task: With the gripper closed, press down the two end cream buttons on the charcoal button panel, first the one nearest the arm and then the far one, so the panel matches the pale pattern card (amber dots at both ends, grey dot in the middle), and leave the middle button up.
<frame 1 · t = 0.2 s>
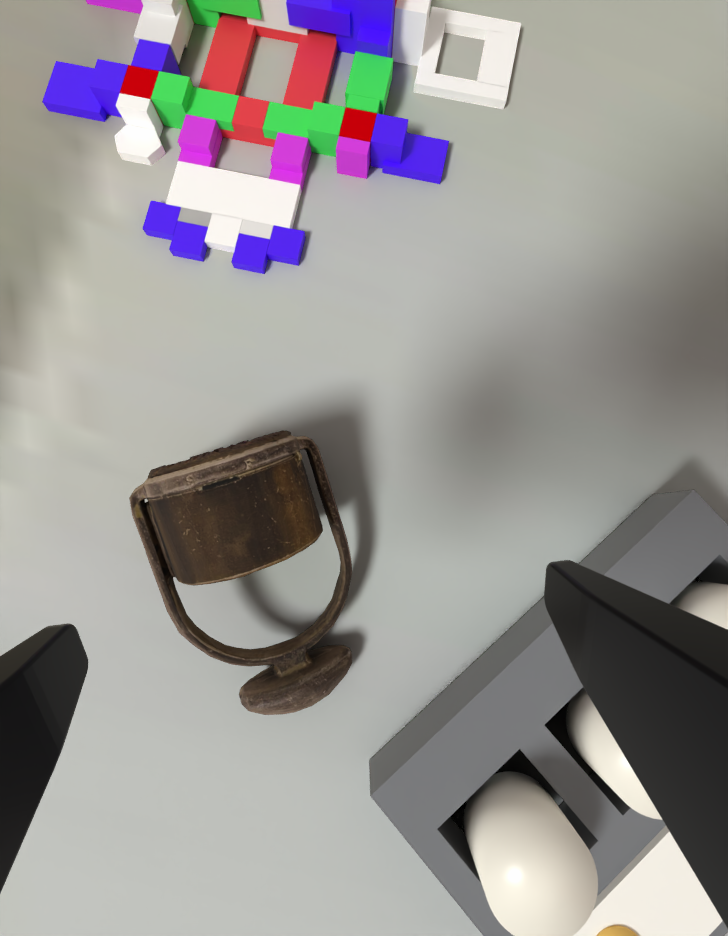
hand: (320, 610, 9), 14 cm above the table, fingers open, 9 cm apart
building block set: (281, 113, 28), on the table
button middle: (634, 739, 19), point 4 cm above the table, slide at 0.0 cm
pattern card: (719, 839, 19), resting on button panel
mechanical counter: (261, 564, 24), on the table
button panel: (610, 729, 22), on the table
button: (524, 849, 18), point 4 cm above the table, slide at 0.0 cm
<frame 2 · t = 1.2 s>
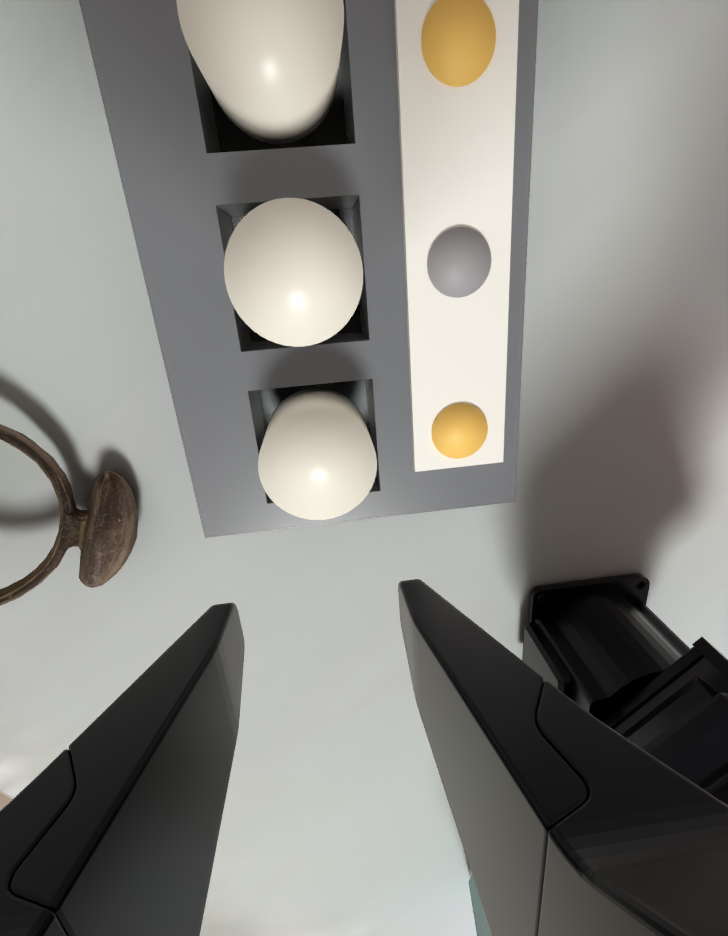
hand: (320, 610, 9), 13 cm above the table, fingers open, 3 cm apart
button middle: (296, 276, 15), point 4 cm above the table, slide at 0.0 cm
pattern card: (456, 263, 16), resting on button panel
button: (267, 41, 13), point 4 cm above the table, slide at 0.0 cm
disposable coffee cup: (513, 856, 35), on the table
button panel: (337, 274, 19), on the table
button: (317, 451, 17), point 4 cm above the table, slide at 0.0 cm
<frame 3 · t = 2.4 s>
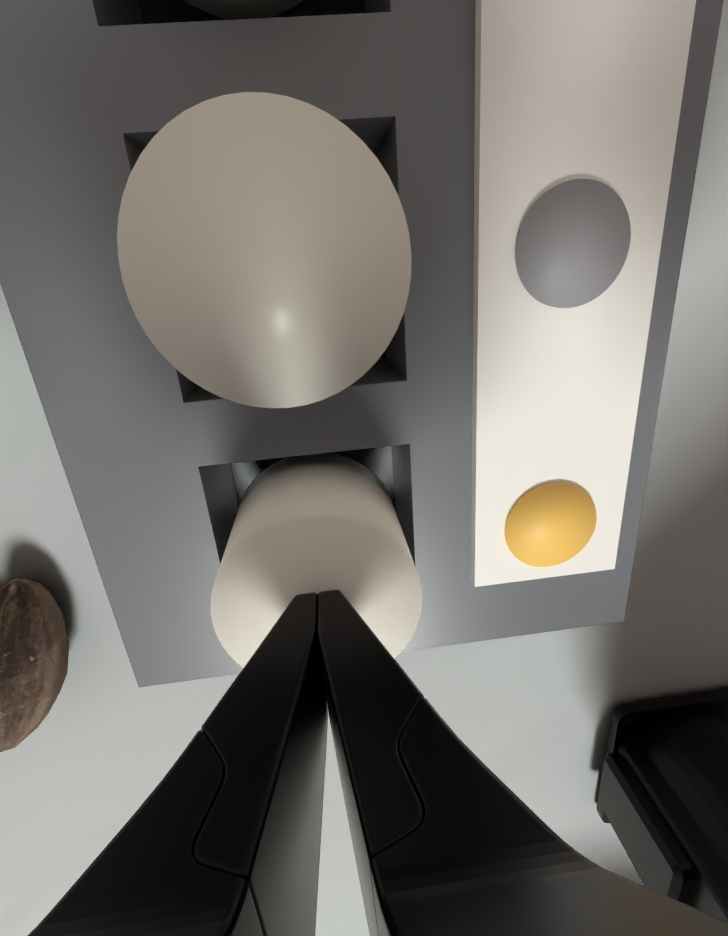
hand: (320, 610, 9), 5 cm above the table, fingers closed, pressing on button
button middle: (277, 270, 8), point 4 cm above the table, slide at 0.0 cm
pattern card: (563, 247, 9), resting on button panel
button panel: (349, 268, 12), on the table
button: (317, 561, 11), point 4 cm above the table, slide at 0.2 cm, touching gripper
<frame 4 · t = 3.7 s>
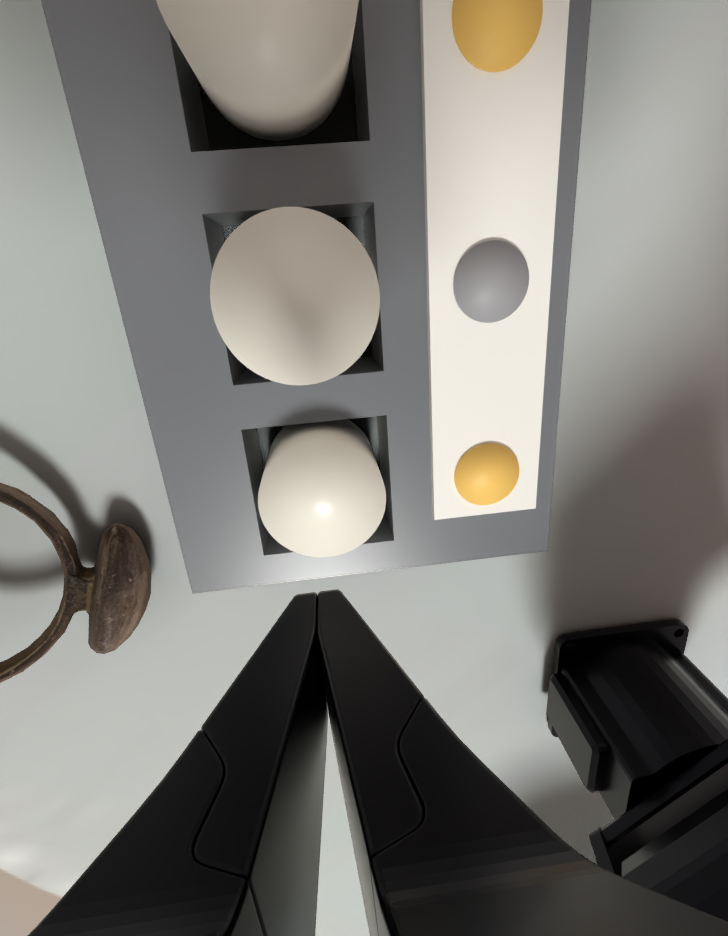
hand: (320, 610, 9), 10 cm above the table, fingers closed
button middle: (298, 299, 13), point 4 cm above the table, slide at 0.0 cm
pattern card: (487, 282, 14), resting on button panel
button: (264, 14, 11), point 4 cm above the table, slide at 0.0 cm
button panel: (345, 291, 16), on the table
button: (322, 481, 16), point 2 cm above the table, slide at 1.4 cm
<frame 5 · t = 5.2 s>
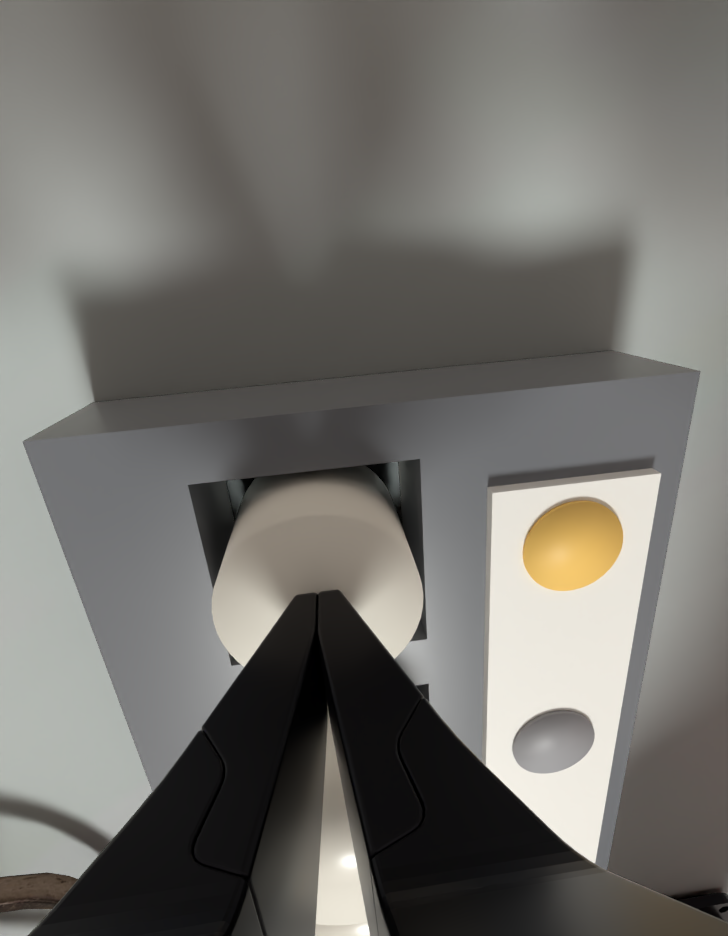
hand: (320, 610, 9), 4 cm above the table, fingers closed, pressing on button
button middle: (347, 793, 12), point 4 cm above the table, slide at 0.0 cm
pattern card: (547, 731, 13), resting on button panel
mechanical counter: (23, 897, 18), on the table
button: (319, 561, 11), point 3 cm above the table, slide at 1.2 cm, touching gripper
button panel: (385, 667, 15), on the table
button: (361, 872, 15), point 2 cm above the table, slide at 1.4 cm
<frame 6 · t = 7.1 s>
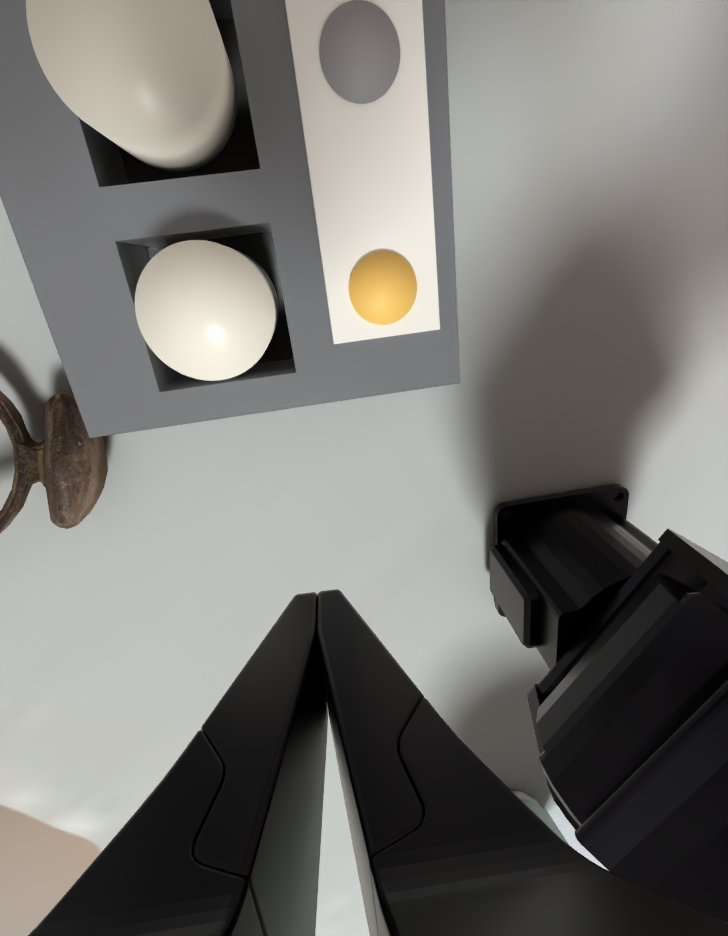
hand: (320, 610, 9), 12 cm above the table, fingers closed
button middle: (148, 67, 12), point 4 cm above the table, slide at 0.0 cm
pattern card: (358, 59, 13), resting on button panel
disposable coffee cup: (499, 815, 32), on the table
button panel: (229, 109, 16), on the table
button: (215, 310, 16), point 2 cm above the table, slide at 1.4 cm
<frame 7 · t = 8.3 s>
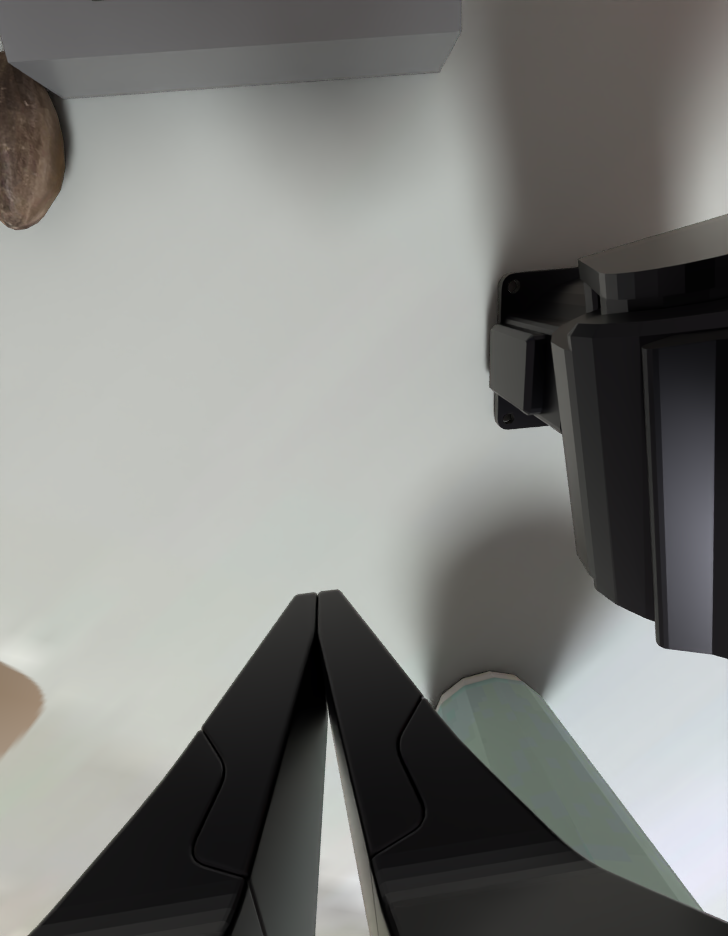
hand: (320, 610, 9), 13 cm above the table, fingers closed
disposable coffee cup: (488, 704, 29), on the table
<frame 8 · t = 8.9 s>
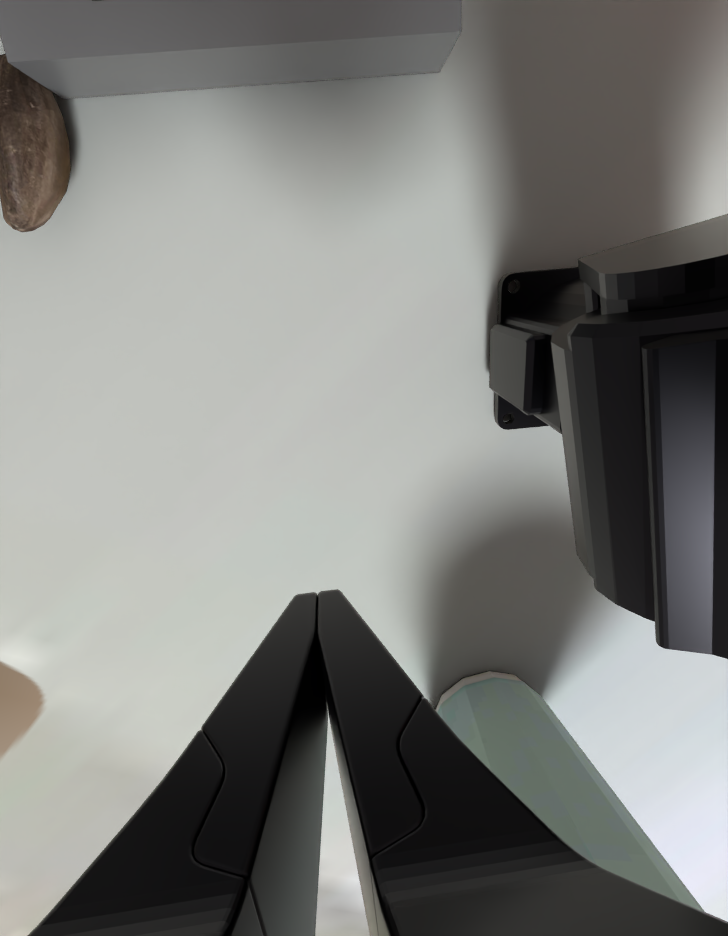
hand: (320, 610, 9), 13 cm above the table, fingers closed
disposable coffee cup: (488, 704, 29), on the table
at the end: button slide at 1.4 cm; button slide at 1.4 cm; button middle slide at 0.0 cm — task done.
